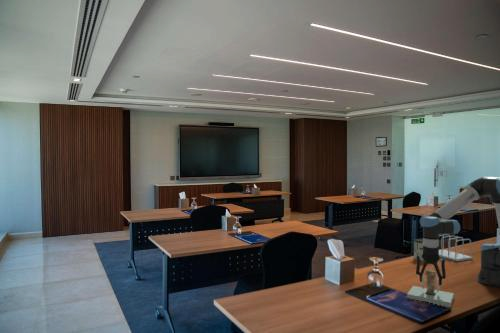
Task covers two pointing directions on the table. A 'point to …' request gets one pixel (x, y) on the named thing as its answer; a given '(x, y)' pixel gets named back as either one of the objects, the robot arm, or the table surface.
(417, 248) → the coffee can
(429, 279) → the peg
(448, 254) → the file sorter
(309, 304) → the table surface
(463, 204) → the robot arm
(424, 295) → the board
